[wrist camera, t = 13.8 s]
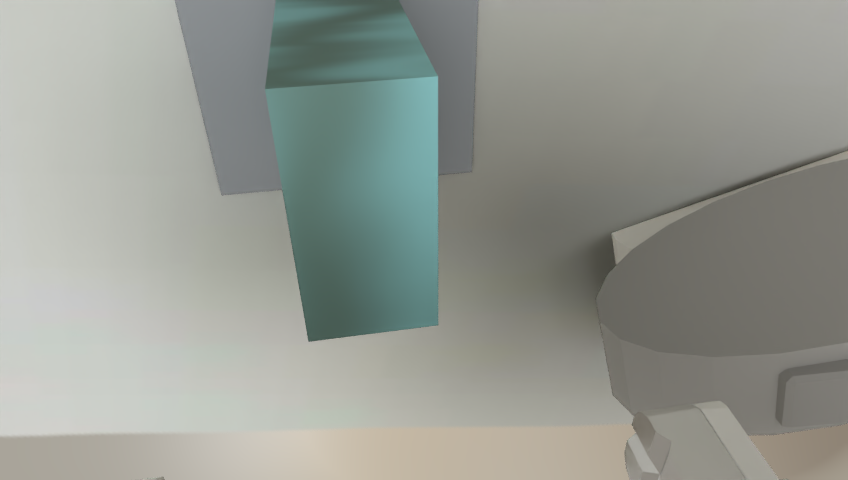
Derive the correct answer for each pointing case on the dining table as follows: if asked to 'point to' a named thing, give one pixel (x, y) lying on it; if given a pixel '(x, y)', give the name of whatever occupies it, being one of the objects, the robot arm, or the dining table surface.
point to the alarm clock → (737, 304)
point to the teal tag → (357, 163)
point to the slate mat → (247, 69)
